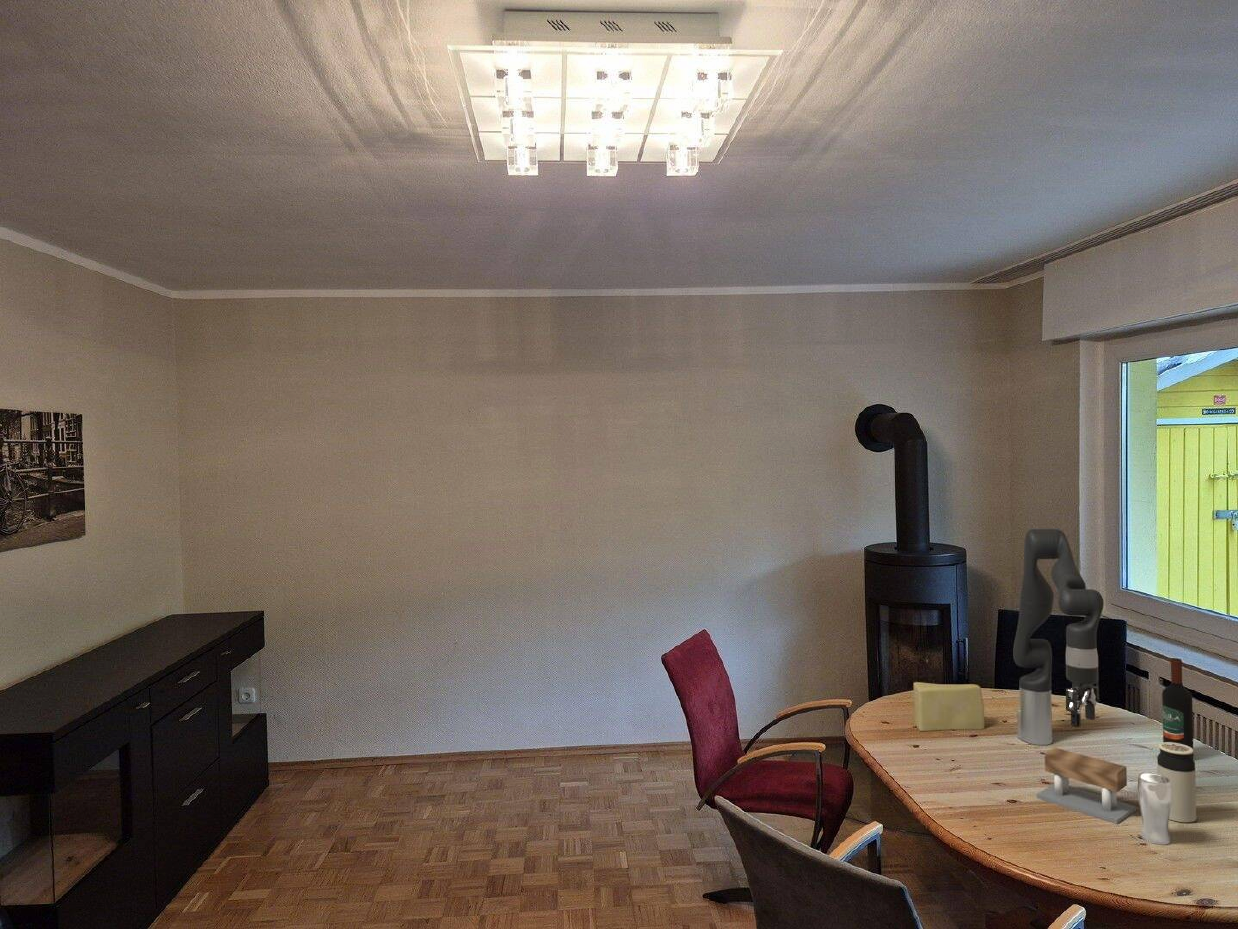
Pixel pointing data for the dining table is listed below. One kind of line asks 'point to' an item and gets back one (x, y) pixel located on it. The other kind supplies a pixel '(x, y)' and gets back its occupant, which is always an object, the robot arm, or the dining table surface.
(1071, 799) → the peg stand
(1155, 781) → the beer glass
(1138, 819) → the dining table surface
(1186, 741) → the wine bottle
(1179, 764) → the travel mug
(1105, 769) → the plank
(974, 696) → the cheese
